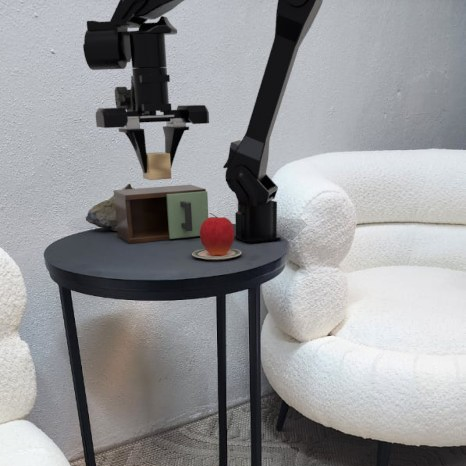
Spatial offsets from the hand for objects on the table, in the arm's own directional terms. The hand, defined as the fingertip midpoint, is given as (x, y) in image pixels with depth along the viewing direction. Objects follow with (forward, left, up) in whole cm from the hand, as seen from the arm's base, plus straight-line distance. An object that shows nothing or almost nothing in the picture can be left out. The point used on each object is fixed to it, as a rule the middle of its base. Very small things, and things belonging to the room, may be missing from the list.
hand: (156, 172), depth 122 cm
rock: (+5, -13, -11) cm, 18 cm away
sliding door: (-4, +5, -11) cm, 13 cm away
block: (0, 0, -1) cm, 1 cm away
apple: (-3, +21, -11) cm, 24 cm away
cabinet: (-1, -1, -11) cm, 11 cm away
